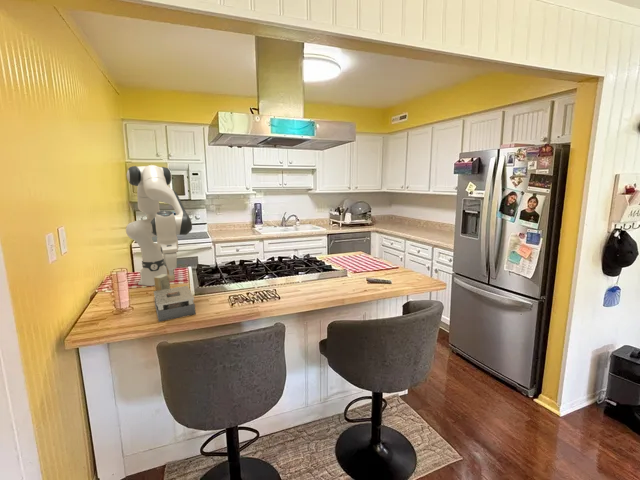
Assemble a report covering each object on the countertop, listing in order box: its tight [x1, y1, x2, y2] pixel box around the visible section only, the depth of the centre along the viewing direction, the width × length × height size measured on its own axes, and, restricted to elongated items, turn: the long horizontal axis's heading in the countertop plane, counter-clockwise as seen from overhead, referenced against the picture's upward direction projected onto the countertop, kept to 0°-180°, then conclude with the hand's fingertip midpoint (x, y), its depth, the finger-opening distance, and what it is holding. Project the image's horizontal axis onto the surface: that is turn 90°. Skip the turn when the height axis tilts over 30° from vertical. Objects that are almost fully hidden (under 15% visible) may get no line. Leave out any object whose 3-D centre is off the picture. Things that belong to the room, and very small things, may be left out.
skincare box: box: [154, 274, 171, 291], centre depth 183 cm, size 6×4×12 cm
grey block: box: [166, 266, 176, 282], centre depth 163 cm, size 3×3×6 cm
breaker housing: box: [153, 285, 197, 323], centre depth 166 cm, size 20×16×8 cm
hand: (170, 273), depth 163 cm, fingers closed on grey block, 3 cm apart
